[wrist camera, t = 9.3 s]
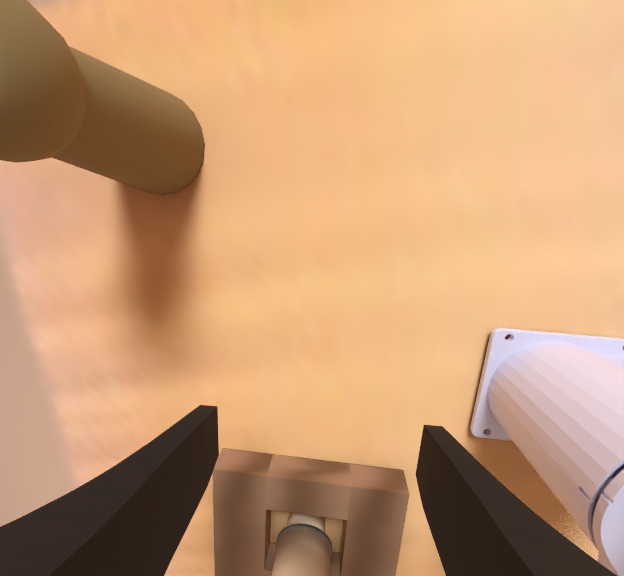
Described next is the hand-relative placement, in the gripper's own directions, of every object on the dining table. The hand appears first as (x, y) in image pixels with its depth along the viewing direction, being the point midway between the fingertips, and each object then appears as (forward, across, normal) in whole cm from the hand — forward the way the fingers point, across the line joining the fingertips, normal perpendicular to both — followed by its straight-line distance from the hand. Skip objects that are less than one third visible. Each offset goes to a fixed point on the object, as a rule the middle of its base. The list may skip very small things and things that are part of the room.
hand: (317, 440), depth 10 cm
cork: (+11, +11, -11) cm, 19 cm away
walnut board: (+10, 0, +17) cm, 20 cm away
